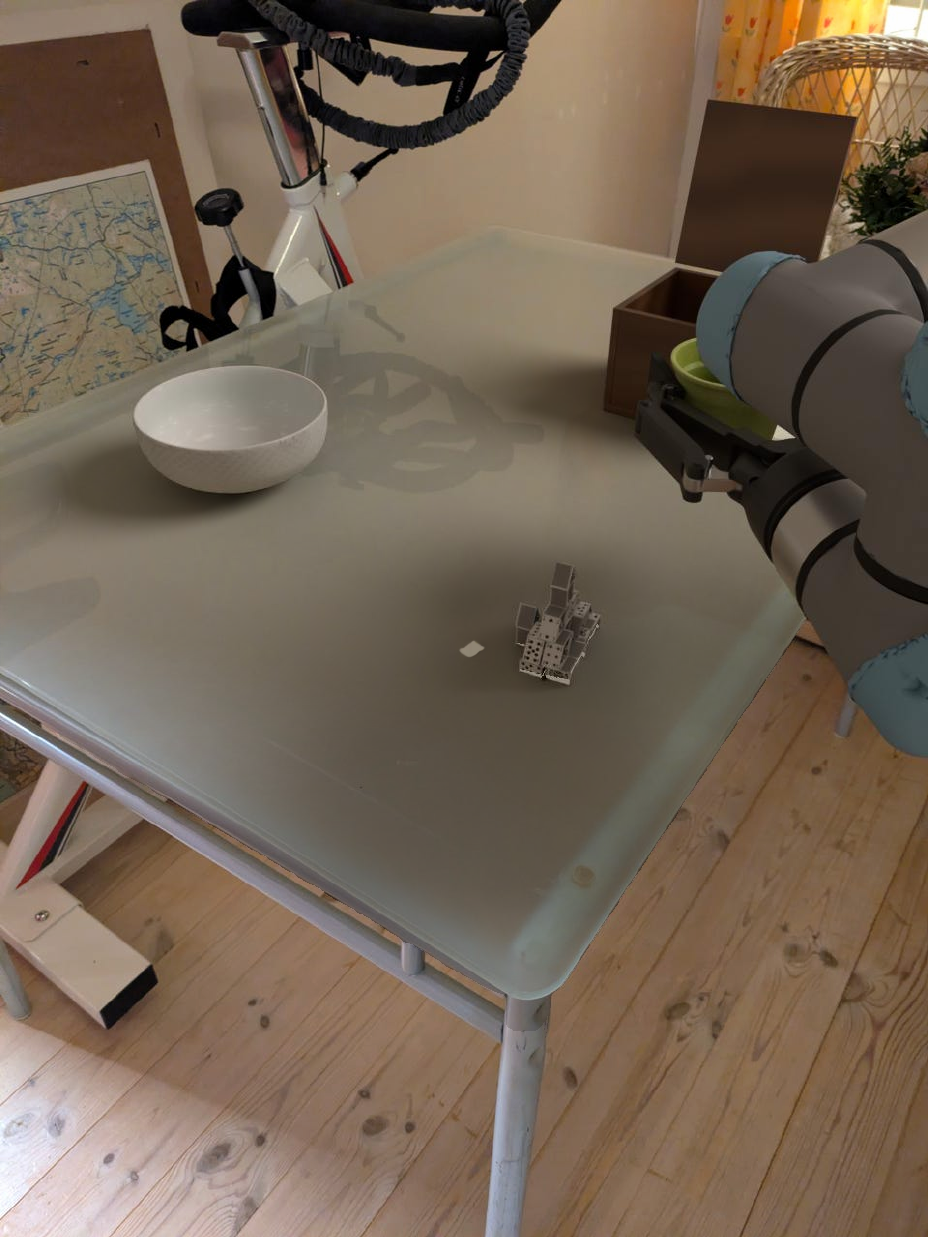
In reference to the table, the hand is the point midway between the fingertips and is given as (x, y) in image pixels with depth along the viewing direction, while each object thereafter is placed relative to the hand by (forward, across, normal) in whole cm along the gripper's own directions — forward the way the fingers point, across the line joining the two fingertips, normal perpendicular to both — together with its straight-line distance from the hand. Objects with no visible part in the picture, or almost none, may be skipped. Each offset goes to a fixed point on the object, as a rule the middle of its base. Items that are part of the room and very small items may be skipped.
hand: (711, 367), depth 73 cm
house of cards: (-13, -15, -15) cm, 25 cm away
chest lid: (+30, +14, +4) cm, 33 cm away
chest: (+24, +8, -15) cm, 29 cm away
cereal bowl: (+13, -39, -14) cm, 43 cm away
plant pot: (-5, 0, -6) cm, 8 cm away
